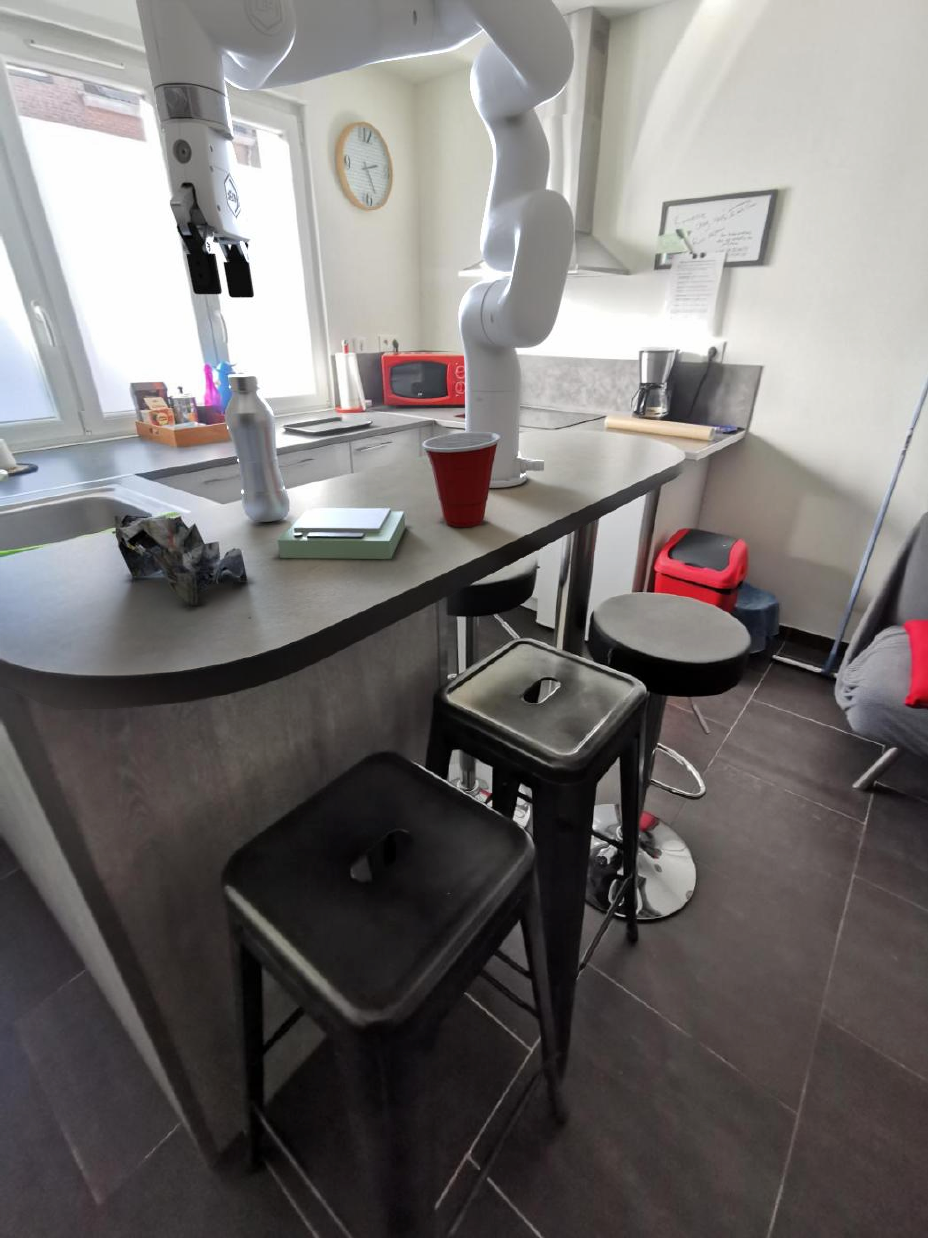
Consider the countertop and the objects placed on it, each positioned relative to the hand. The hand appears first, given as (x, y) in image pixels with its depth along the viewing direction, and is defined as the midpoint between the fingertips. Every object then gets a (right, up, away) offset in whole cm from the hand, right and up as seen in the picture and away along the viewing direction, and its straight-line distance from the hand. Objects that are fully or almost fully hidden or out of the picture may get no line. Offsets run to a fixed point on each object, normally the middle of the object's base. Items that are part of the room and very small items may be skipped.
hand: (226, 295), depth 71 cm
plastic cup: (+30, -26, +12) cm, 41 cm away
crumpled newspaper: (-2, -37, -6) cm, 37 cm away
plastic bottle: (+1, -26, +14) cm, 29 cm away
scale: (+14, -30, +5) cm, 34 cm away
